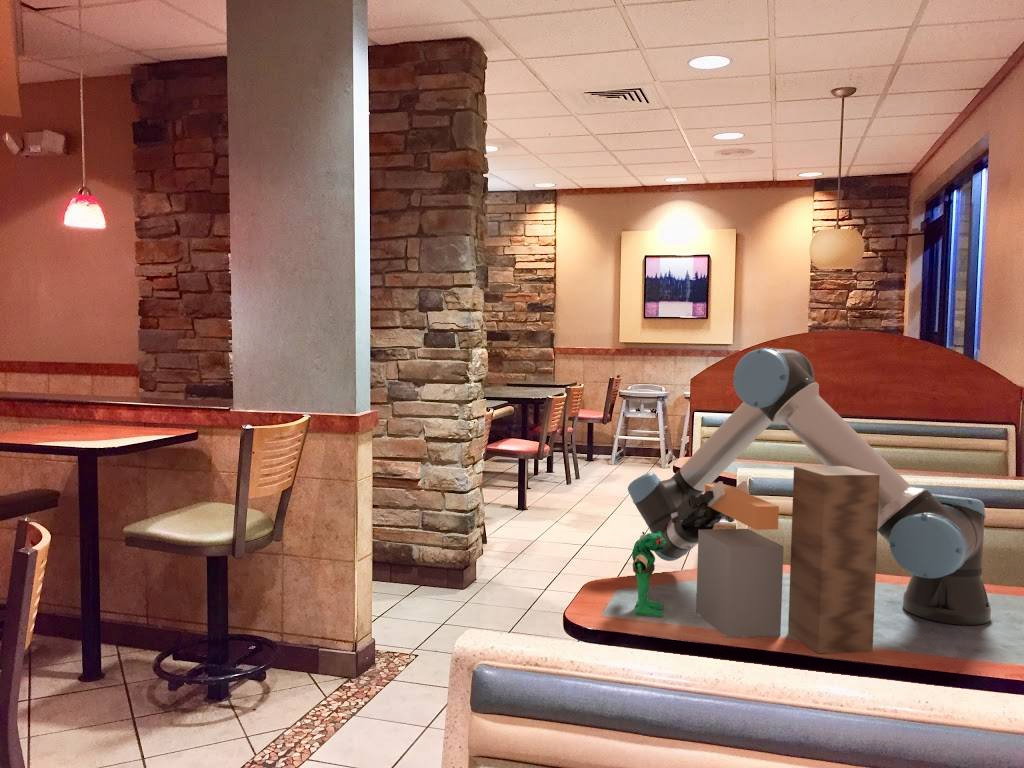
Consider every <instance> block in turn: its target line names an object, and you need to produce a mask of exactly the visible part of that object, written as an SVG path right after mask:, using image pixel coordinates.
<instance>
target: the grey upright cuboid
mask: <svg viewBox="0 0 1024 768" xmlns="http://www.w3.org/2000/svg"><path fill="white" fill-rule="evenodd" d="M784 548H785V547H784V546H783V545H782V544H780V543H777V542H776V541H773V540H772V539H769V538H768V537H765V536H764V535H761V534H760V533H757V532H755V531H753V530H751V529H749V528H721V529H719V528H718V529H717V528H716V529H715V528H713V529H708V530H699V531H698V544H697V565H696V566H697V567H696V568H697V570H696V571H697V573H696V575H697V576H696V601H695V602H696V605H695V613H696V614H697V615H699V616H700V617H701V618H703V619H704V621H706V622H707V623H708V624H710V626H712V627H714V628H715V629H716V630H717V631H718V632H719V633H720V634H722V635H723V636H724V635H725V636H724V637H726V638H728V639H733V638H732V637H738V638H754V637H777V636H781V634H782V633H781V629H782V627H781V626H782V603H783V602H782V601H783V575H784V573H783V572H784V571H783V570H784Z"/></svg>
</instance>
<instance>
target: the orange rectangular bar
mask: <svg viewBox="0 0 1024 768" xmlns="http://www.w3.org/2000/svg"><path fill="white" fill-rule="evenodd" d="M715 484H716V483H711V484H705V490H704V493H705V492H707V491H709V490H710V489H711V488H712V487H713V486H714V485H715ZM723 486H724V491H725V496H724V497H722V498H721V499H720V500H719V501H718V502H717V503H716V504H715V505H713V506H712V507H711V508H713V509H715V510H717V511H719V512H721V513H723V514H725V515H727V516H729V517H731V518H733V519H734V521H735V520H736V521H737V522H738V523H742V524H743V525H746V526H747V527H750V528H751V529H753V530H756V531H765V530H766V531H767V530H769V531H770V530H779V515H780V514H779V513H780V512H779V511H780V510H779V509H780V508H779V507H780V506H779V505H777V504H775V503H772V502H769V501H767V500H764V499H762V498H758V497H757V496H755V495H752V494H750V493H749V494H747V493H745V492H742V491H740V490H737V489H735V488H736V487H732V486H730V485H728V484H724V483H723ZM707 506H708V504H707Z"/></svg>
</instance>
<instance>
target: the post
mask: <svg viewBox="0 0 1024 768" xmlns="http://www.w3.org/2000/svg"><path fill="white" fill-rule="evenodd" d="M879 480H880V475H878V474H874V473H870V472H866V471H863V470H859V469H855V468H851V467H847V466H825V465H824V466H823V465H822V466H819V465H818V466H817V465H816V466H813V465H812V466H807V465H806V466H799V465H798V466H793V483H792V484H793V485H792V488H793V489H792V511H791V512H792V513H791V514H792V515H791V536H790V538H791V539H790V541H791V542H790V543H791V545H790V565H789V566H790V568H789V569H790V572H789V595H788V596H789V597H788V623H787V625H788V626H787V627H788V628H787V634H789V635H790V636H791V637H793V638H794V639H796V640H797V641H799V642H800V643H802V644H803V645H805V647H808V648H809V649H810V650H812V651H813V652H815V653H816V654H818V655H823V654H822V653H827V654H843V653H845V652H846V653H847V654H848V653H861V652H862V653H864V652H865V651H867V652H873V650H874V649H873V648H874V631H875V630H874V628H875V627H874V625H875V623H874V622H875V603H876V602H875V600H876V577H877V576H876V574H877V573H876V572H877V551H878V531H877V530H878V505H879ZM819 653H821V654H819Z"/></svg>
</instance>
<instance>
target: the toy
mask: <svg viewBox="0 0 1024 768" xmlns="http://www.w3.org/2000/svg"><path fill="white" fill-rule="evenodd" d="M641 533H642V535H640V537H639V539H637V540H636V541H635V543H634V545H633V549H632V551H631V552H632V553H631V556H632V557H631V558H632V560H633V562H632V571H633V573H634V574H635V577H636V585H637V599H638V600H637V601H636V603H635V607H636V608H635V609H634V614H635V615H637V614H638V615H639V616H649V617H660V618H661V617H664V612H663V611H661V610H664V607H665V606H664V605H663V604H661V603H659V602H656V601H652V600H651V599H649V598H648V596H649V595H648V594H649V589H650V584H651V582H650V580H651V579H650V578H651V576H652V575H653V573H654V572H655V562H656V557H655V555H654V553H655V552H664V551H665V550H664V548H663V547H662V546H664V545H665V544H666V543H667V542H666V541H665V540H664V539H663V538H662V533H661V532H660V531H658V532H657V533H651V532H649V533H646V534H645V531H642V532H641ZM652 551H653V552H654V551H655V552H654V553H653V552H652Z"/></svg>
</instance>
